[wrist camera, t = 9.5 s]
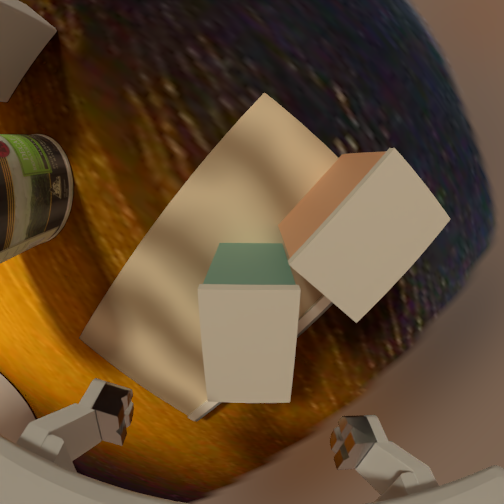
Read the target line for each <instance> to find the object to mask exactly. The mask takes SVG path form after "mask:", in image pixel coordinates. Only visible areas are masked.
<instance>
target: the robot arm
mask: <svg viewBox="0 0 504 504" xmlns="http://www.w3.org/2000/svg"><path fill="white" fill-rule="evenodd" d="M132 397H133V393H132V389H129V388H126V387H123V386H119V385H116V384H113V383H110V382H106V381H103V380H100V379H97V378H95V379H94V380H93V381H92V382H91V384H90V386H89V387H88V389H87V391H86V392H85V394H84V396H83V397H82V399H81V401H80V402H79V404H76V403H75V404H72V405H70V406H68V407H65V408H63V409H61V410H58V411H56V412H54V413H51V414H49V415H47V416H44V417H42V418H39V419H37V420H36V419H35V417H34V415H33V413H32V411H31V410H30V408H29V406H28V405H27V403H26V402H25V401H24V399H23V398H22V397H21V395H20V394H19V393H18V392H17V390H16V389H15V388H14V387H13V386H12V385H11V384H10V383H9V381H8V380H7V379H6V378H5V377H3V376H2V375H1V374H0V504H188V503H182V502H177V501H171V500H166V499H162V498H157V497H153V496H149V495H145V494H141V493H137V492H133V491H130V490H126V489H123V488H119V487H116V486H113V485H110V484H107V483H104V482H101V481H98V480H95V479H92V478H89V477H87V476H84V475H82V474H79V473H77V472H76V469H75V467H74V465H73V463H72V461H73V460H74V459H76V458H77V457H79V456H80V455H82V454H83V453H85V452H86V451H88V450H89V449H91V448H92V447H94V446H95V445H97V444H98V443H100V442H101V441H102V440H104V441H107V442H110V443H114V444H117V445H121V446H122V445H123V443H124V440H125V437H126V435H127V431H126V427H128V426H130V424H131V421H132V417H133V410H134V407H133V403H132V402H131V399H132ZM338 425H339V426H338V427H336V428H335V429H334V430H333V432H332V434H331V438H330V445H331V449H332V450H333V451H334V452H335V453H336V455H335V457H334V461H335V464H336V468H337V470H341V469H355V470H356V471H357V472H358V473H359V474H360V475H361V476H362V477H363V478H364V479H365V480H366V481H367V482H368V483H369V484H370V485H371V486H372V487H373V488H374V489H375V490H376V491H377V492H378V493H379V494H380V495H381V496H380V497H379V498H378V499H377V500H376V501H375V502H374V503H367V504H504V468H502V467H500V466H497V465H494V466H491V467H488V468H486V469H483V470H481V471H479V472H476V473H474V474H471V475H469V476H466V477H464V478H461V479H458V480H456V481H453V482H450V483H447V484H444V485H441V486H439V485H438V483H437V482H436V479H435V477H434V475H433V473H432V472H431V469H430V467H429V466H427V465H426V464H424V463H422V462H421V461H420V460H418V459H416V458H415V457H414V456H412V455H411V454H409V453H408V452H406V451H405V450H403V449H402V448H401V447H399V446H398V445H396V444H395V443H393V442H392V441H388V439H387V437H386V435H385V432H384V430H383V428H382V426H381V424H380V422H379V420H378V418H377V416H376V415H365V416H342V417H341V418H340V419H339V421H338Z"/></svg>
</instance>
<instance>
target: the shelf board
mask: <svg viewBox="0 0 504 504" xmlns="http://www.w3.org/2000/svg"><path fill="white" fill-rule="evenodd" d="M337 160H338V157H337V156H336V155H335V154H334V153H333V152H332V151H331V150H330V149H329V148H328V147H327V146H326V145H325V144H323V143H322V142H321V141H320V140H319V139H318V138H317V137H316V136H315V135H314V134H313V133H311V132H310V131H309V130H308V129H307V128H306V127H305V126H304V125H303V124H301V123H300V122H299V121H298V120H297V119H296V118H295V117H293V116H292V115H291V114H290V113H289V112H288V111H286V110H285V109H284V108H283V107H282V106H280V105H279V104H278V103H277V102H276V101H274V100H273V99H272V98H271V97H269V96H268V95H267V94H266V93H264V94H263V95H262V96H261V97H260V98H259V99H258V100H257V101H256V102H255V103H254V104H253V105H252V106H251V107H250V108H249V110H248V111H247V112H246V113H245V114H244V115H243V116H242V117H241V118H240V119H239V120H238V122H237V123H236V124H235V125H234V126H233V127H232V128H231V129H230V131H229V132H228V133H227V134H226V135H225V136H224V137H223V138H222V140H221V141H220V142H219V143H218V144H217V145H216V147H215V148H214V149H213V150H212V151H211V152H210V154H209V155H208V156H207V157H206V158H205V160H204V161H203V162H202V163H201V164H200V166H199V167H198V168H197V169H196V170H195V172H194V173H193V174H192V175H191V177H190V178H189V179H188V180H187V182H186V183H185V184H184V185H183V187H182V188H181V189H180V190H179V192H178V193H177V194H176V196H175V197H174V198H173V199H172V201H171V202H170V203H169V205H168V206H167V207H166V209H165V210H164V211H163V212H162V214H161V215H160V216H159V218H158V219H157V221H156V222H155V223H154V225H153V226H152V227H151V229H150V230H149V231H148V233H147V234H146V236H145V237H144V238H143V240H142V241H141V243H140V244H139V245H138V247H137V248H136V250H135V251H134V253H133V254H132V255H131V257H130V258H129V260H128V261H127V263H126V264H125V266H124V267H123V269H122V270H121V272H120V273H119V275H118V276H117V278H116V279H115V281H114V282H113V284H112V285H111V287H110V288H109V290H108V291H107V293H106V295H105V296H104V298H103V299H102V301H101V302H100V304H99V306H98V307H97V309H96V310H95V312H94V314H93V315H92V317H91V319H90V320H89V322H88V324H87V325H86V327H85V329H84V330H83V332H82V334H81V335H80V337H79V339H81V340H82V341H83V342H84V343H85V344H87V345H88V346H89V347H90V348H91V349H93V350H94V351H95V352H96V353H98V354H99V355H100V356H101V357H103V358H104V359H105V360H107V361H108V362H109V363H111V364H112V365H113V366H114V367H116V368H117V369H118V370H120V371H121V372H123V373H124V374H125V375H127V376H128V377H129V378H131V379H132V380H134V381H135V382H137V383H138V384H139V385H141V386H142V387H144V388H145V389H147V390H148V391H150V392H151V393H153V394H154V395H156V396H157V397H159V398H160V399H162V400H164V401H165V402H167V403H168V404H170V405H172V406H173V407H175V408H176V409H178V410H180V411H181V412H183V413H185V414H186V415H188V418H189V419H191V420H193V421H198V420H200V419H201V418H202V417H204V416H205V415H206V414H207V413H209V412H210V411H211V410H213V409H214V408H215V407H217V406H218V405H219V404H220V403H222V402H209V401H208V400H207V391H206V382H205V373H204V363H203V352H202V341H201V330H200V317H199V304H198V287H199V284H203V282H204V280H205V277H206V275H207V272H208V270H209V267H210V265H211V263H212V260H213V258H214V255H215V253H216V251H217V248H218V246H219V243H282V244H283V247H284V250H285V253H286V256H287V259H288V260H289V259H290V257H289V254H288V252H287V249H286V246H285V243H284V241H283V238H282V235H281V233H280V230H279V227H278V225H279V224H280V223H281V221H282V220H283V219H284V218H285V217H286V216H287V215H288V214H289V213H290V211H291V210H292V209H293V208H294V207H295V206H296V205H297V204H298V203H299V202H300V200H301V199H302V198H303V197H304V196H305V195H306V194H307V193H308V192H309V191H310V189H311V188H312V187H313V186H314V185H315V184H316V183H317V182H318V181H319V179H320V178H321V177H322V176H323V175H324V174H325V173H326V172H327V171H328V170H329V168H330V167H331V166H332V165H333V164H334V163H335V162H336V161H337ZM290 268H291V271H292V274H293V277H294V280H295V283H296V285H299V287H300V289H301V293H300V306H299V318H298V330H297V338H298V337H299V336H300V335H301V334H302V333H303V332H304V331H305V330H306V329H307V328H309V327H310V326H311V325H312V324H313V323H314V322H315V321H316V320H317V319H318V318H319V317H320V316H321V315H322V314H323V313H324V312H325V311H326V310H327V309H328V308H329V307H330V306H331V305H332V304H333V302H331V301H330V300H329V299H328V298H327V297H326V296H325V295H323V294H322V293H321V292H320V291H319V290H318V289H316V288H315V287H314V286H313V285H312V284H311V283H309V282H308V281H307V280H306V279H305V278H304V277H302V276H301V275H300V274H299V273H298V272H297V271H295V270H294V269H293V268H292V267H291V266H290Z"/></svg>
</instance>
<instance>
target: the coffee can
mask: <svg viewBox="0 0 504 504" xmlns="http://www.w3.org/2000/svg"><path fill="white" fill-rule="evenodd" d="M72 200H73V177H72V171H71V167H70V164H69V161H68V158H67V156H66V154H65V152H64V151H63V149H62V148H61V146H60V145H59V144H58V143H57V142H56V141H55V140H54V139H52V138H51V137H49V136H46V135H43V134H31V135H28V134H0V263H2V262H4V261H6V260H8V259H10V258H12V257H14V256H16V255H18V254H20V253H22V252H24V251H26V250H28V249H30V248H32V247H34V246H36V245H39V244H41V243H44V242H47V241H49V240H51V239H53V238H54V237H55V236H56V235H57V234H58V233H59V232H60V231H61V229H62V228H63V227H64V225H65V223H66V221H67V219H68V216H69V213H70V210H71V206H72Z"/></svg>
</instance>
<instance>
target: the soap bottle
mask: <svg viewBox="0 0 504 504" xmlns="http://www.w3.org/2000/svg"><path fill="white" fill-rule="evenodd" d="M56 32H57V30H56V29H55V28H54V27H53V26H52V25H50V24H49V23H48V22H47V21H46V20H44V19H43V18H42V17H41V16H40V15H38V14H37V13H36V12H35V11H33V10H32V9H31V8H30V7H28V6H27V5H26V4H24V3H22V2H20V1H18V0H0V102H8V100H9V99H10V97H11V95H12V94H13V92H14V90H15V89H16V87H17V86H18V84H19V82H20V81H21V79H22V78H23V76H24V75H25V73H26V72H27V70H28V69H29V68H30V66H31V65H32V63H33V62H34V60H35V59H36V58H37V56H38V55H39V54H40V52H41V51H42V50H43V48H44V47H45V46H46V44H47V43H48V42H49V41H50V39H51V38H52V37H53V36H54V34H55V33H56Z"/></svg>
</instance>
